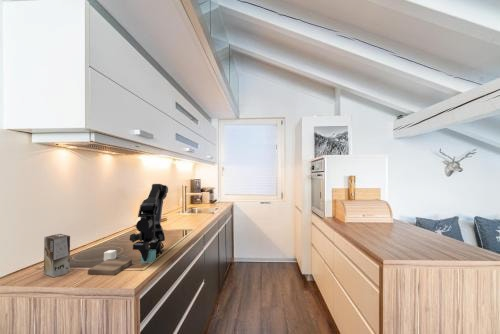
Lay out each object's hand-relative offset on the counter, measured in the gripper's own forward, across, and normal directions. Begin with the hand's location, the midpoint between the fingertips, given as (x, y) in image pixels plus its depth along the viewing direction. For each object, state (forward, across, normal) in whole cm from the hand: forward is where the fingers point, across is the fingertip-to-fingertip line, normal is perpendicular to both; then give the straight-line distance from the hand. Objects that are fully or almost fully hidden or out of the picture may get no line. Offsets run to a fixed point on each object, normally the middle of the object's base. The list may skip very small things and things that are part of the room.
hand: (148, 258), depth 118 cm
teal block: (+1, 0, 0) cm, 1 cm away
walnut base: (+1, +11, -12) cm, 16 cm away
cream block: (+1, -1, -21) cm, 21 cm away
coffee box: (+1, +17, -33) cm, 37 cm away
